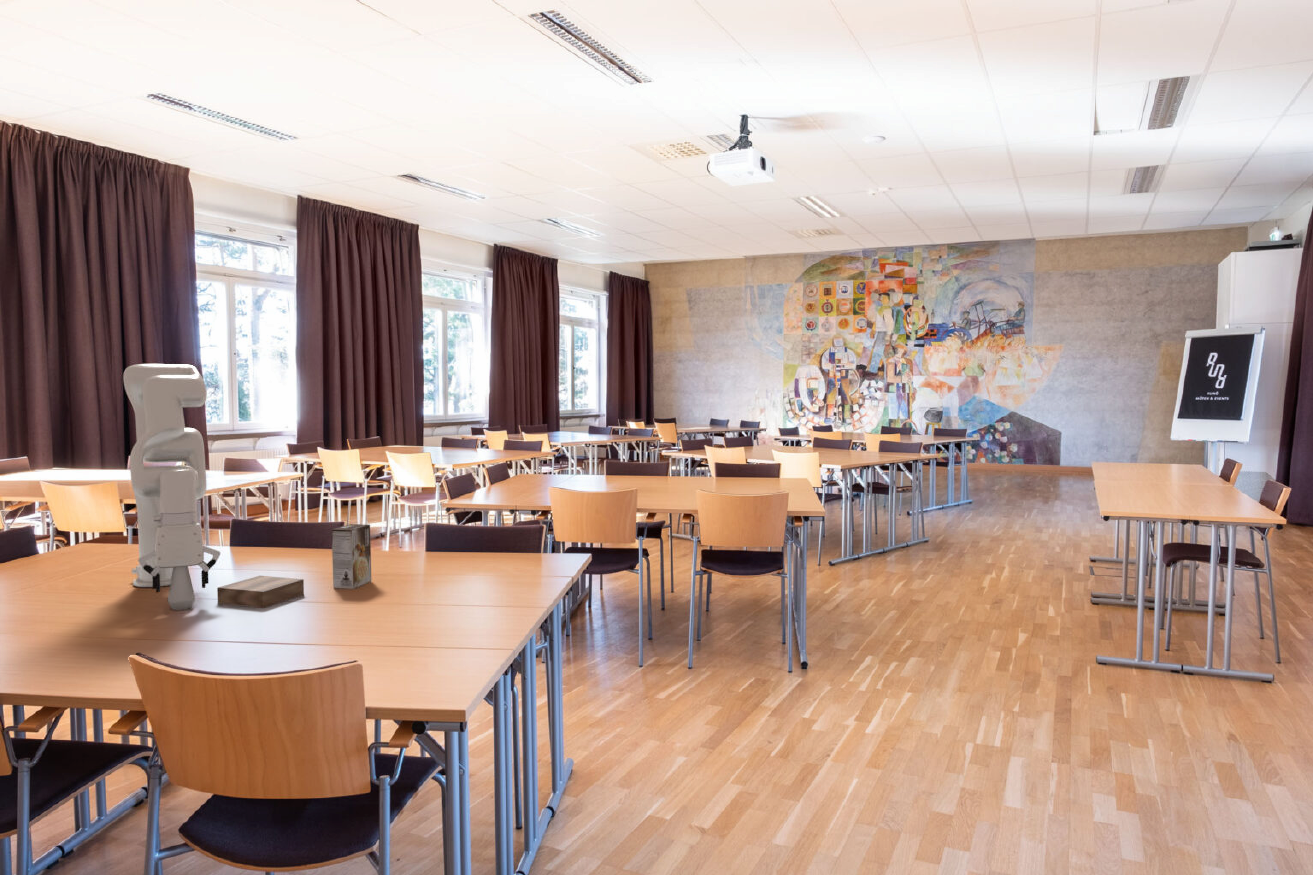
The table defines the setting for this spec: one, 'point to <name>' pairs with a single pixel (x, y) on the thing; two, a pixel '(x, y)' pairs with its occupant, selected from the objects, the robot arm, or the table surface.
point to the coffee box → (351, 556)
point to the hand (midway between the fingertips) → (181, 589)
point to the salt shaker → (181, 589)
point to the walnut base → (260, 591)
